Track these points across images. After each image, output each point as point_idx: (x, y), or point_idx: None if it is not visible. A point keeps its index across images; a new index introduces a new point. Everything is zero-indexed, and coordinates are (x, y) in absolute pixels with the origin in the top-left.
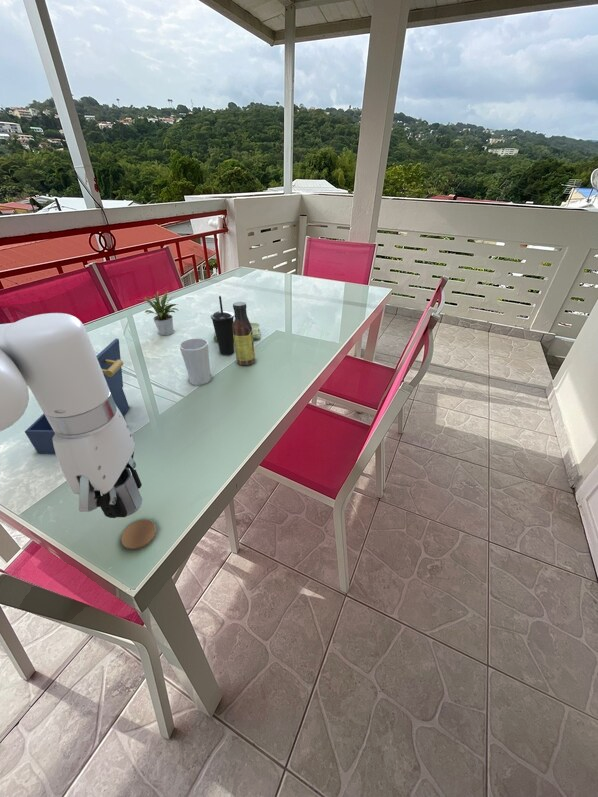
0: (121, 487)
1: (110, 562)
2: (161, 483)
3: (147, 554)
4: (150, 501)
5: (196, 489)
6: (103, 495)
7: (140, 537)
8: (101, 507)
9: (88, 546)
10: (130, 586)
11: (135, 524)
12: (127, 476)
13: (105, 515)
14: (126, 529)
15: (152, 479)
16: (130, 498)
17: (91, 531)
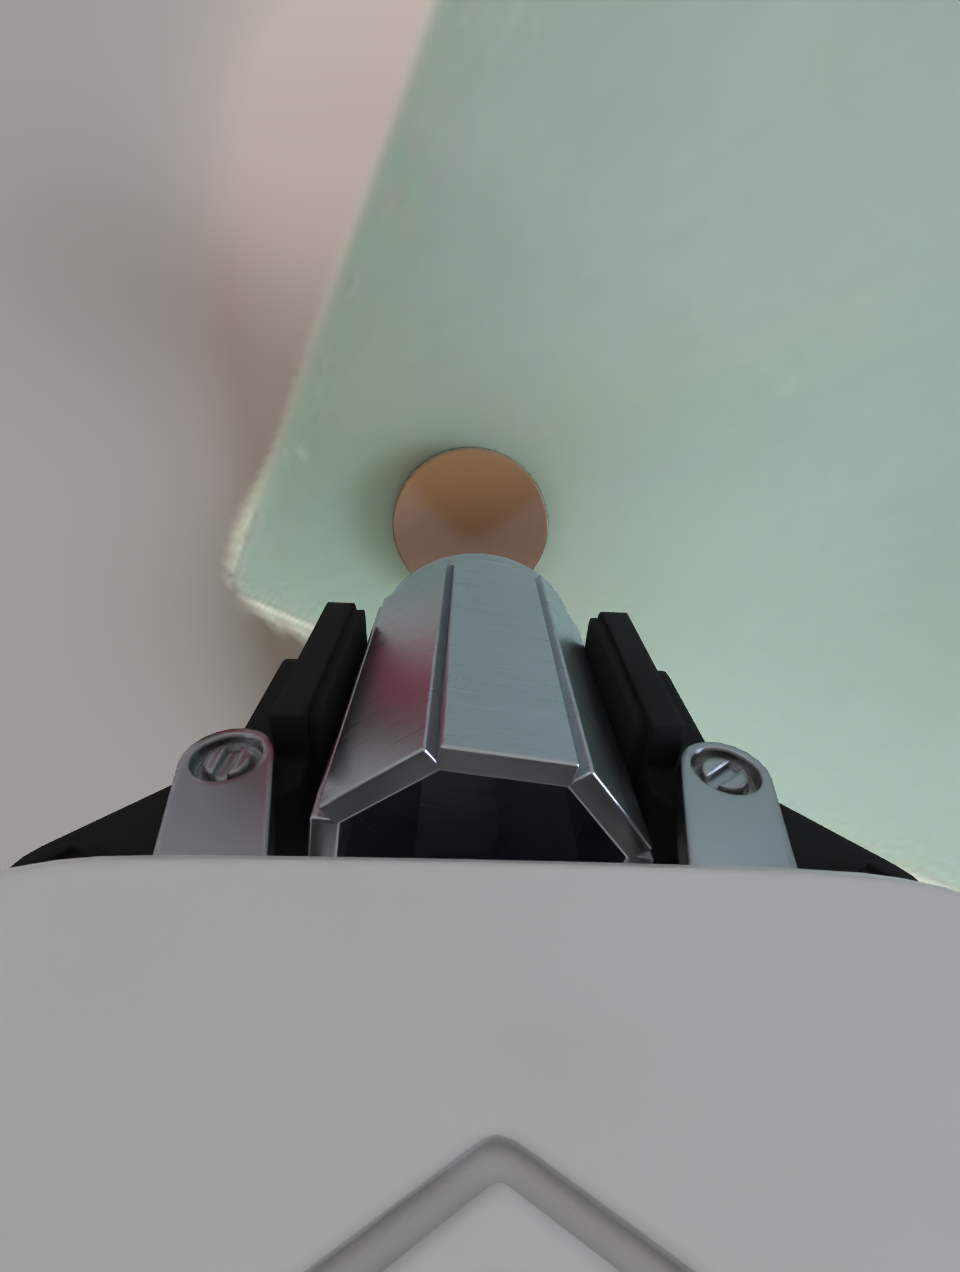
0: None
1: (326, 441)
2: (783, 532)
3: (377, 590)
4: (668, 512)
5: (696, 696)
6: (294, 795)
7: (447, 546)
8: (298, 662)
9: (404, 265)
10: (239, 571)
11: (521, 496)
12: (579, 823)
13: (324, 609)
14: (495, 460)
15: (832, 472)
16: (418, 795)
17: (502, 230)
